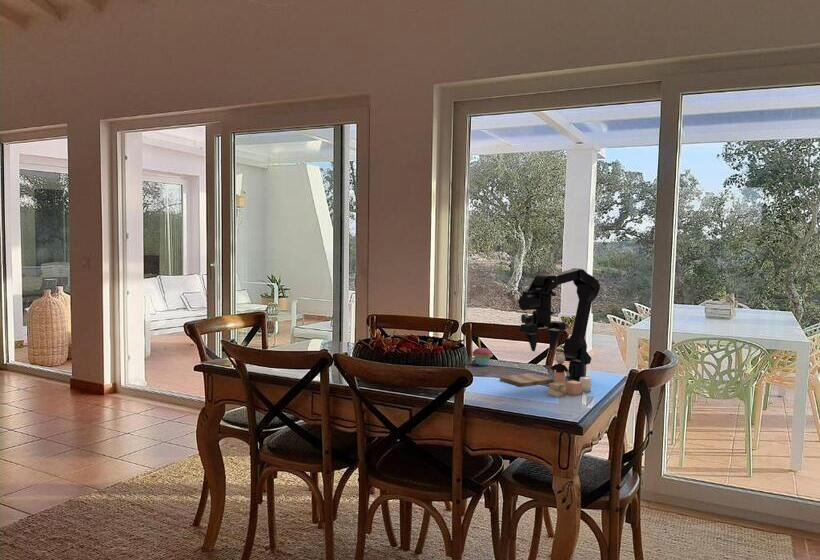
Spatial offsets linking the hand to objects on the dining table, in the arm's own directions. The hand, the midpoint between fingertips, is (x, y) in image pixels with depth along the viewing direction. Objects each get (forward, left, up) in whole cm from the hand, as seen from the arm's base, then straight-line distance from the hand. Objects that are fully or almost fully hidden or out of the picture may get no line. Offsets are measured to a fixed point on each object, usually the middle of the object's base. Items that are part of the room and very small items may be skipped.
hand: (542, 350), depth 243 cm
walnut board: (+2, -6, -13) cm, 14 cm away
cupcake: (-3, -39, -13) cm, 41 cm away
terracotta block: (0, +16, -13) cm, 21 cm away
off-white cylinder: (-7, +15, -13) cm, 21 cm away
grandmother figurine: (0, +9, -13) cm, 16 cm away
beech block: (+7, +15, -13) cm, 21 cm away
